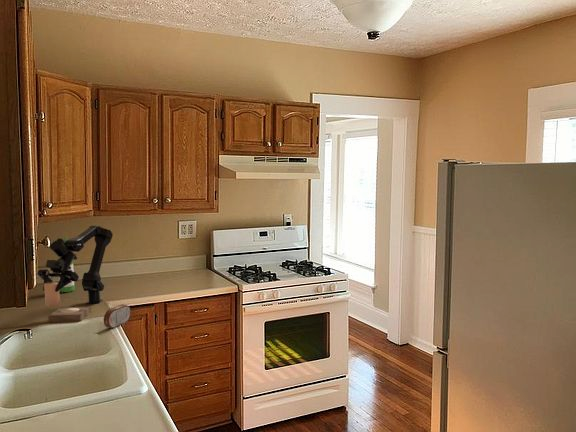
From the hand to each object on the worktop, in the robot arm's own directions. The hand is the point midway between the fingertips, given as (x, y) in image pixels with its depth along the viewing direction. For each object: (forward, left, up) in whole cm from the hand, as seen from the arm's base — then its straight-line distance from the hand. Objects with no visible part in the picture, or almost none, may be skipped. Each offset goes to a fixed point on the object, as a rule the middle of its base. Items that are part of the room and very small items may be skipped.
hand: (49, 291), depth 228 cm
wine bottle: (-57, -15, -14) cm, 61 cm away
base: (-3, +7, -13) cm, 16 cm away
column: (-1, 0, -7) cm, 7 cm away
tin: (+12, +33, -14) cm, 38 cm away
